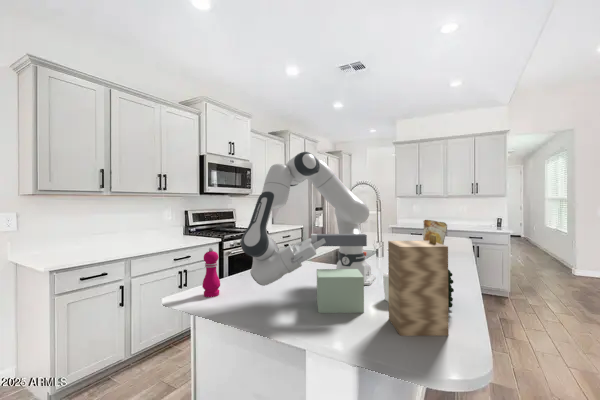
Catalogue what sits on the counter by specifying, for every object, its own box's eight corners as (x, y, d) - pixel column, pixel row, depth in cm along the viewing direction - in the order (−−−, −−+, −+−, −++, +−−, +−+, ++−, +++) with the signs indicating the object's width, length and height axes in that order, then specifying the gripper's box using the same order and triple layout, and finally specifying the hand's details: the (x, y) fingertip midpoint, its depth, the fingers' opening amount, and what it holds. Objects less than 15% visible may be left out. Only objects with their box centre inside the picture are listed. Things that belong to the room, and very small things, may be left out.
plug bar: (311, 246, 111) (311, 235, 111) (311, 244, 115) (311, 233, 115) (366, 246, 111) (366, 234, 111) (364, 244, 115) (364, 233, 115)
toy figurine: (461, 318, 105) (442, 290, 129) (462, 265, 103) (443, 246, 127) (431, 316, 107) (419, 289, 131) (432, 264, 105) (419, 246, 129)
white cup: (401, 305, 114) (401, 278, 114) (380, 301, 118) (380, 275, 118) (406, 299, 121) (406, 273, 121) (386, 295, 125) (386, 271, 125)
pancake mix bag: (429, 271, 165) (429, 219, 165) (449, 280, 146) (448, 222, 146) (417, 271, 165) (417, 219, 164) (435, 281, 146) (435, 222, 145)
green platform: (318, 312, 107) (318, 277, 107) (316, 301, 119) (316, 269, 119) (364, 312, 107) (363, 277, 107) (357, 300, 119) (357, 268, 119)
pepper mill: (223, 293, 130) (223, 246, 130) (213, 298, 124) (213, 249, 123) (209, 291, 133) (208, 245, 133) (198, 296, 126) (198, 248, 126)
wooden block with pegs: (400, 335, 89) (399, 238, 89) (388, 319, 101) (388, 233, 101) (448, 335, 89) (448, 237, 89) (431, 319, 101) (430, 232, 101)
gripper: (286, 255, 103) (321, 235, 103) (289, 245, 123) (318, 228, 123) (295, 271, 103) (331, 251, 103) (297, 259, 123) (326, 242, 123)
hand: (324, 238), depth 113 cm, fingers closed on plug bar, 4 cm apart
